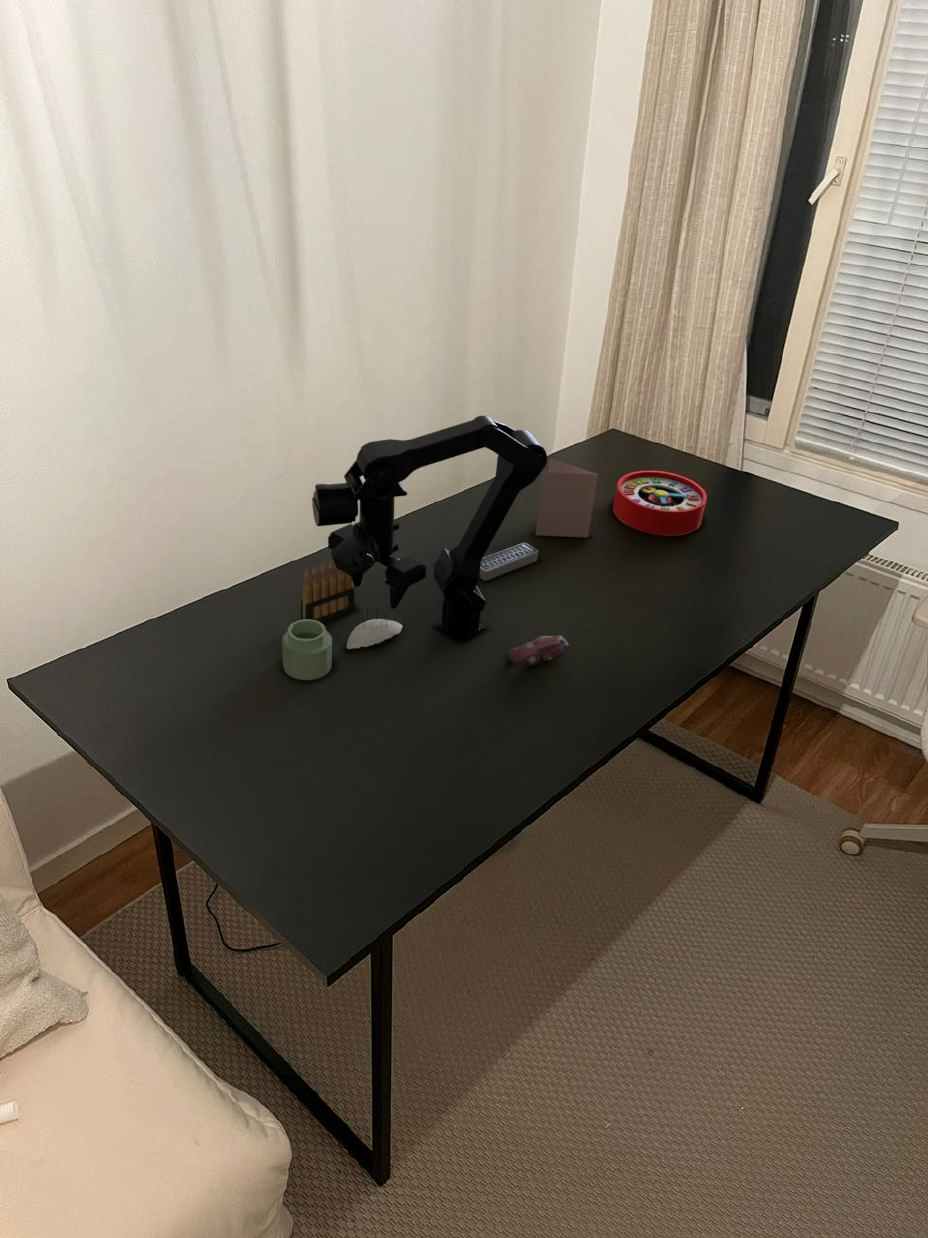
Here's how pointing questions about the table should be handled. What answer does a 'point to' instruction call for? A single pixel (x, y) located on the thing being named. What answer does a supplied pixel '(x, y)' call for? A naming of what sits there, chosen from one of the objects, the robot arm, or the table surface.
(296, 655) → the pale green cup
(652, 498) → the toy clock
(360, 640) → the pincushion
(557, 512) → the greeting card
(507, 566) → the multiport hub
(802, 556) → the table surface
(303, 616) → the ammunition clip
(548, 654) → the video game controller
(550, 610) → the table surface
